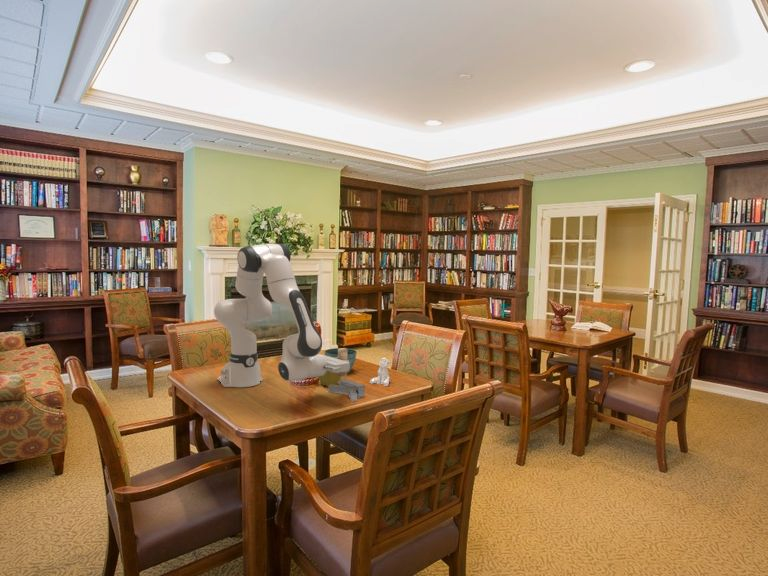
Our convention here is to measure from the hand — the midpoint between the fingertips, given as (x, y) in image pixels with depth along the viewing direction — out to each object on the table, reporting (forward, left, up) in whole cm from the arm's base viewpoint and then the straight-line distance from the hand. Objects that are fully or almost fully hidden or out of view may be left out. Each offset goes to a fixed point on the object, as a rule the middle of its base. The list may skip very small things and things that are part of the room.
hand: (344, 360), depth 197 cm
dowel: (0, -1, -6) cm, 6 cm away
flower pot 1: (-17, +5, -15) cm, 24 cm away
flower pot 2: (-32, +23, -15) cm, 43 cm away
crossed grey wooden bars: (0, +2, -15) cm, 15 cm away
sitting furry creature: (-4, +26, -15) cm, 31 cm away
